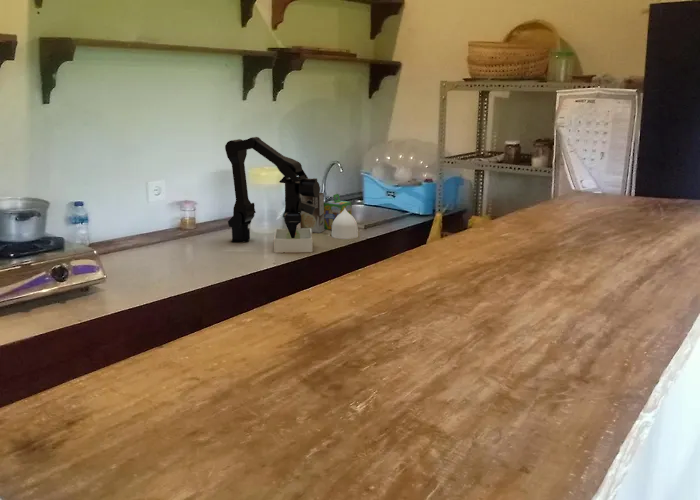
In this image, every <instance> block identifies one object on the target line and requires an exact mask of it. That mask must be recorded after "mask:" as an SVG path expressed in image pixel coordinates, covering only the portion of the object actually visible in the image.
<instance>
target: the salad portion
mask: <svg viewBox="0 0 700 500" xmlns="http://www.w3.org/2000/svg"><path fill="white" fill-rule="evenodd" d="M286 239H300V233H299V232H298V231H297V230H296V233H295V238H291V235H290V233H289V231H288V233H287V234H286Z"/></svg>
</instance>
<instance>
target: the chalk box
mask: <svg viewBox="0 0 700 500" xmlns="http://www.w3.org/2000/svg"><path fill="white" fill-rule="evenodd" d="M332 197H333V199H332V200H329V201H326V202H325V201H324V229H325V230H328V231H329V230H331V231H332V223H333V221H334V219H335V218H336V217H337V216H338V215H339V214H340V213H341V212H342V211H343V210H344V208H345V209H346V211H347V212H348V213H349V214H351V215H352V202H351V201H346V200H341V197H340V194H339V193H336V194H333V195H332ZM336 198H337V199H336Z"/></svg>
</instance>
